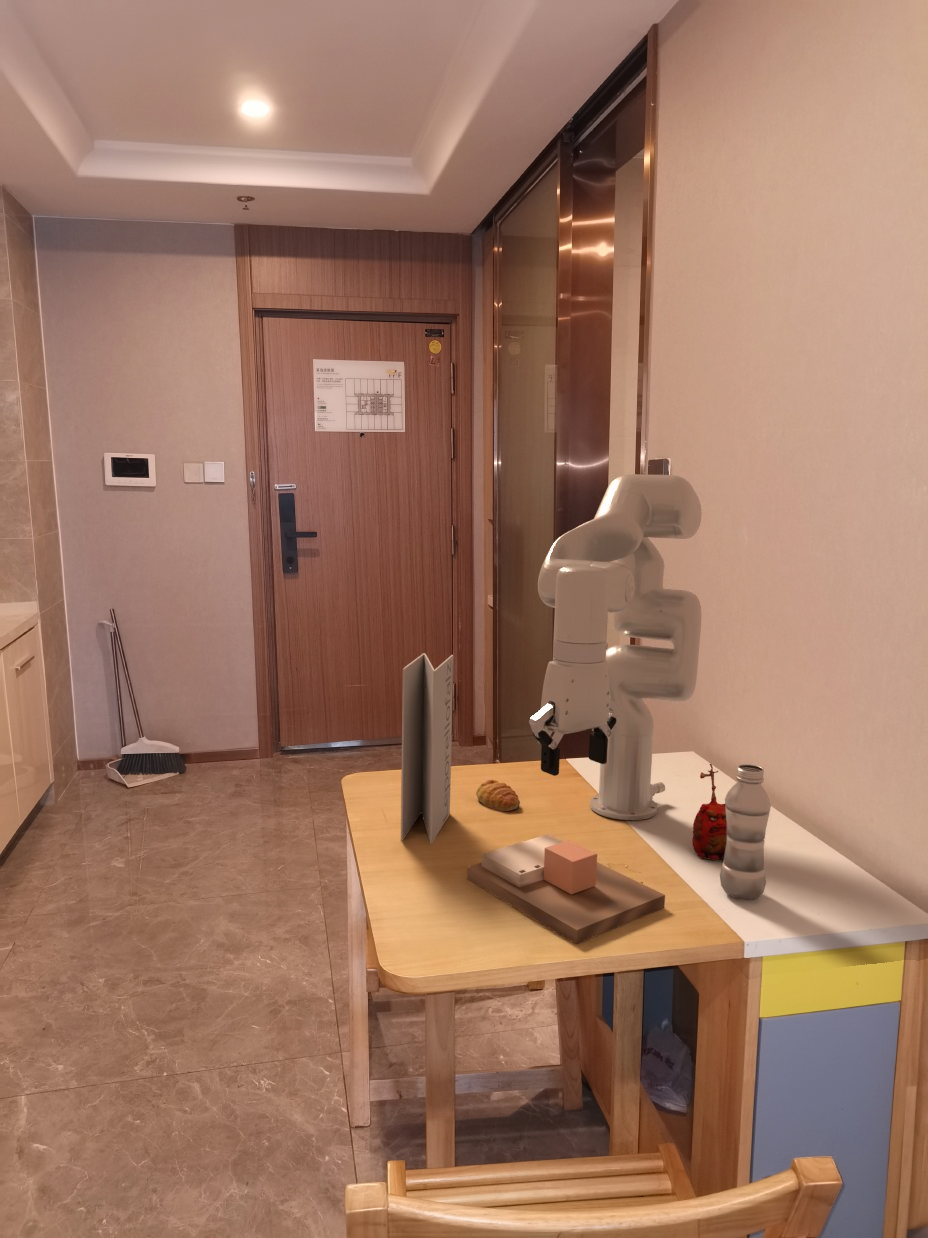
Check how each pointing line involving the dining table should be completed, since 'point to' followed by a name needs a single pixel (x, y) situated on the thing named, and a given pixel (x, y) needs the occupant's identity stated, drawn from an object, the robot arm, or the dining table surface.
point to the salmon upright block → (570, 867)
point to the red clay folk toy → (710, 827)
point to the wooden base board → (562, 892)
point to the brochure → (426, 744)
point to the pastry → (497, 795)
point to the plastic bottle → (745, 835)
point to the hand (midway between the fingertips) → (574, 767)
